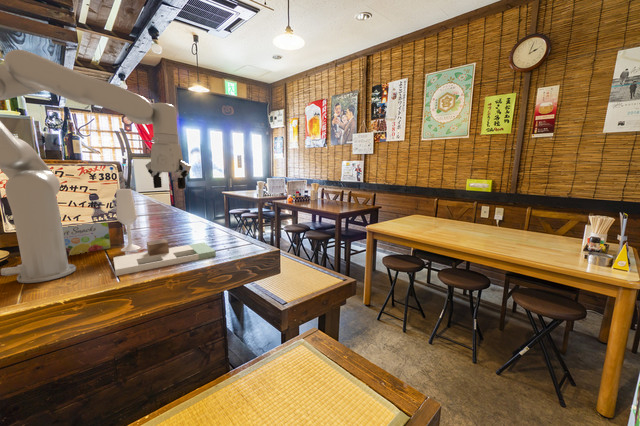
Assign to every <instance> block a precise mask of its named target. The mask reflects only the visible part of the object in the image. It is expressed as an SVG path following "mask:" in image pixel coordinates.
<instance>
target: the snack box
mask: <svg viewBox="0 0 640 426" xmlns="http://www.w3.org/2000/svg"><path fill="white" fill-rule="evenodd" d="M108 224H109V223H94V224H82V225H77V226H68V227H62V228H63V234H64V241H65V247H66V253H67V257H69V256H70V255H71V256H76V255H79V254H80V253H81V254H86V253H85V252H87V253H90V251H92V252H97V250H98V251H102V250H107V249H111V239H110V232H109V231H110V229H109V225H108ZM75 254H76V255H75ZM81 254H80V255H81Z"/></svg>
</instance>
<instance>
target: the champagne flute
mask: <svg viewBox="0 0 640 426" xmlns="http://www.w3.org/2000/svg"><path fill="white" fill-rule="evenodd" d="M115 193H116V194H115V195H116V197H115V199H116V202H115V203H116V204H115V205H116V206H115V207H116V209H115V210H116V212H115V213H116V221H118V222H119V223H121V224H122V225H124V226H126V234H127V243H128V244H127V245H126V246H124V247H123V248H121V249H120V251H121V252H131V251H137V250H139V249H141V248H142V247H141V246H139V245H137V244H134V243H133V241H132V240H133V239H132V230H131V225H132V224H133V223H134V222H136V220H137V218H138V213H137V209H136V204H135V200H134V195H133V191H132V188H117V189H116V190H115Z"/></svg>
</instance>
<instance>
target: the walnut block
mask: <svg viewBox="0 0 640 426" xmlns="http://www.w3.org/2000/svg"><path fill="white" fill-rule="evenodd" d="M146 248H147V252H148V254H149V256H153V255H159V254H165V253H169V248H170V246H169V241H168V240H167V239H165V238H164V239H157V240H151V241H146Z"/></svg>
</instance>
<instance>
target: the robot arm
mask: <svg viewBox="0 0 640 426" xmlns="http://www.w3.org/2000/svg"><path fill="white" fill-rule="evenodd" d="M3 61H4V63H3V64H1V65H0V101H5V100H9V99H13V98H19V97H22V96H23V97H24V96H27V95H32V94H36V93H39V92H43V91H46V92H49V93H51V94H53V95H57V96H60V97H62V98H64V99H67V100H71V101H73V102H75V103H78V104H82V105H86V106H96V107H97V106H98V107H102V108H104V109H107V110H111V111H114V112H116V113H119V114H122V115H124V116H125V117H126V119H127V120H129V121H130V122H131V123H134V124H136V125H152V132H153V133H152V134H153V136H152V137H151V140H152V141H153V143H152V144H151V150H150V162H148V163H146V164H145V167H146V170H147V172H148V173H149V175H150V177H152V180H153V181H152V182H153V188H154V189H158V188H160V189H161V188H162V185H163V184H162V177H161V175H162V173H175V174H176V175H177V189H179V190H182V189H184V190H185V189H186V178H187V176H188V175H189V174H190V170H191V168H192V166H191V164H189V163H187V162H185V161H184V157H183V152H182V148H181V145H180V144H179V136H178V133H179V132H178V123H177V122H178V118H177V108H176V107H175V106H174V105H172V104H170V103H167V102H166V103H165V102H154V103H151V102H150V101H149V100H148V99H146V98H145V97H144V96H141V95H140V94H137V93H135V92H132V91H131V90H129V89H126V88H124V87H122V86H119V85H116V84H113V83H112V82H111V83H110V82H108V81H104V80H101V79H99V78H96V77H92V76H89V75H86V74H84V73H81V72H79V71H77V70H74V69H71V68H69V67H67V66H64V65H62V64H60V63H57V62H55V61H53V60H50V59H48V58H46V57H44V56H41V55H38V54H37V53H33V52H31V51H28V50H24V49H12V50H10V51H8V52H7V53H6V54H5V56H4V60H3ZM0 171H1V172H2V173H3V174H4V175H5V176H6V177H7V181H6V183H5V186H4V187H5V191H4V192H5V195H6V199H7V202H8V205H9V207H10V210H11V214H12V219H13V224H14V228H15V233H16V238H17V242H18V248H19V253H20V258H21V263H20V264H17V265H16V266H12V267H11V266H10V267H4V268H1V269H0V275H1V276H5V277H8V276H9V277H10V276H13V275H17V276H16V280H17V282H18V283H22V284H33V283H36V284H37V283H43V282H47V281H52V280H56V279H59V278H63V277H66V276H68V275H71V274H72V273H74V272H76V270H77V267H76V265H75V264H72V263H69V260H68V259H69V258H68V256H67V253H66V247H65V241H64V234H63V228H62V223H61V216H60V215H61V212H60V209H59V208H60V207H59V203H58V199H57V195H58V194H59V192H60V190H61V184H60V180H59V179H58V177H57V176H56V175H55V174H54V172H53V171H52V170H51V169H50V167H49V166H48V165H47V163H46V162H45V161H44V160H43V159H42V157H41V156H40V155H39V154H38V153H37V151H36V150H35V149H34V148H33V147H32V146H31V145H30V144H29V143H28V142H26V141H25V140H23V139H21V138H19V137H16V136H15V135H14V134H13V133H12V132H11V131H10V130H9V129H8V128H7V127H6V125H5V124H4V123H3V122H2V121H1V120H0Z"/></svg>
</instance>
